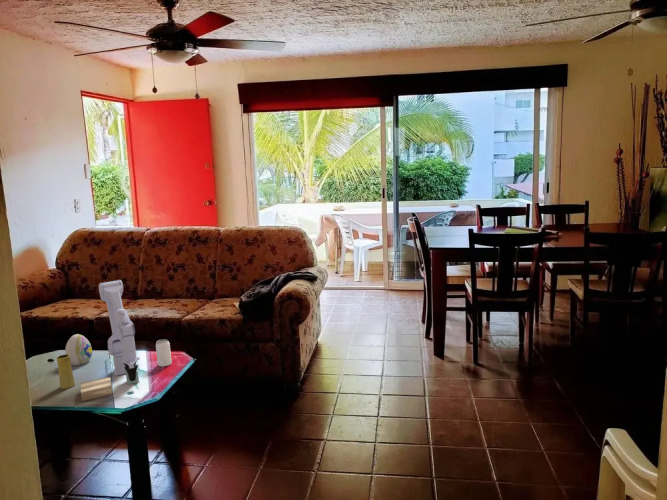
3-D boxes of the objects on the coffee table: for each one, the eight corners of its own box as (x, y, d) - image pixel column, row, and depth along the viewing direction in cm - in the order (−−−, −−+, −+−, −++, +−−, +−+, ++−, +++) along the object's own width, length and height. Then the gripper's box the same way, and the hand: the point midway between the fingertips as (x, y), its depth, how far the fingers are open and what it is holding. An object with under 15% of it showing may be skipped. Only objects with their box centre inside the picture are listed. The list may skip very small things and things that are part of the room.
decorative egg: (86, 366, 262) (82, 337, 260) (62, 367, 262) (57, 339, 260) (97, 357, 274) (93, 330, 272) (74, 359, 274) (70, 331, 272)
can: (167, 367, 253) (164, 343, 251) (155, 366, 254) (152, 343, 253) (174, 362, 259) (171, 338, 258) (162, 362, 261) (159, 338, 259)
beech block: (82, 391, 231) (81, 383, 230) (111, 385, 236) (110, 376, 235) (82, 401, 220) (80, 392, 220) (112, 394, 225) (111, 386, 224)
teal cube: (126, 380, 239) (125, 370, 238) (138, 378, 241) (136, 368, 240) (127, 384, 234) (126, 374, 234) (139, 382, 237) (137, 371, 236)
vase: (63, 384, 240) (59, 354, 238) (77, 382, 241) (72, 353, 238) (57, 389, 234) (53, 359, 232) (71, 388, 235) (67, 357, 232)
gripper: (139, 352, 231) (143, 381, 233) (136, 343, 244) (140, 371, 246) (122, 355, 228) (126, 385, 230) (120, 346, 241) (124, 374, 243)
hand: (132, 378), depth 238 cm, fingers closed on teal cube, 5 cm apart
